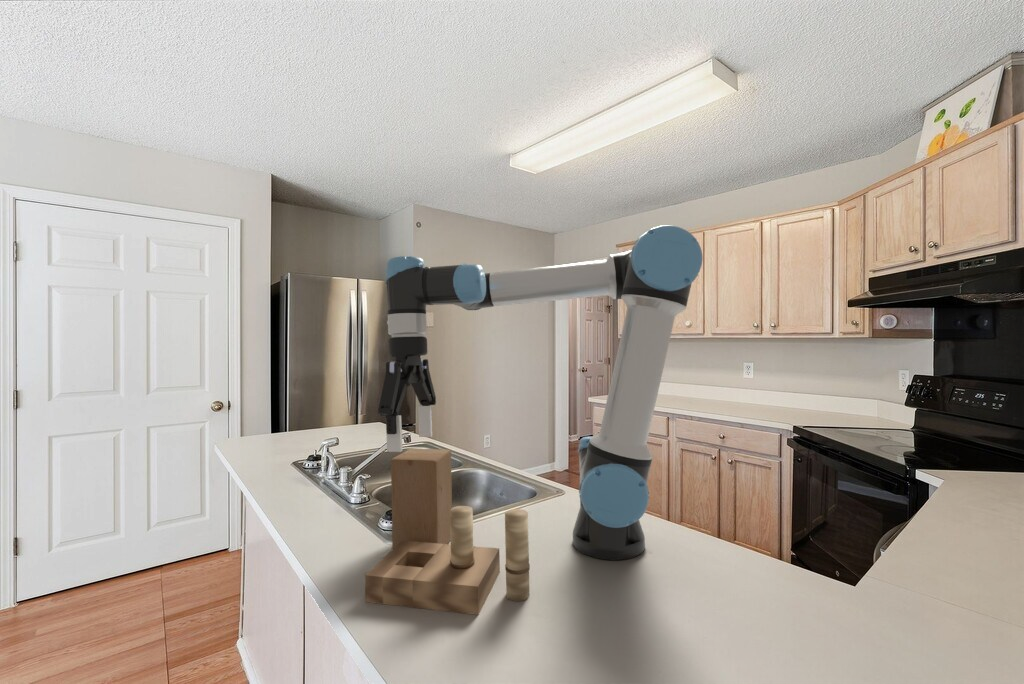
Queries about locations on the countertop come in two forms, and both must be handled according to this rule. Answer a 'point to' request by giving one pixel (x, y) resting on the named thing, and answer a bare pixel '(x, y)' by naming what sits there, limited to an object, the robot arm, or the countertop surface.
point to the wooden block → (421, 496)
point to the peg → (517, 555)
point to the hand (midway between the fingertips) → (411, 443)
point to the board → (437, 571)
